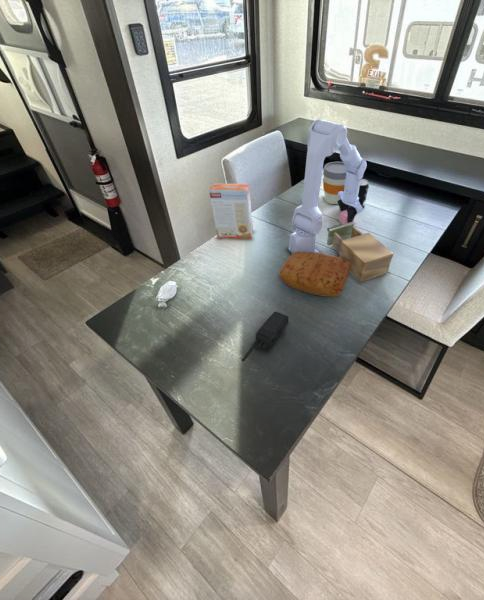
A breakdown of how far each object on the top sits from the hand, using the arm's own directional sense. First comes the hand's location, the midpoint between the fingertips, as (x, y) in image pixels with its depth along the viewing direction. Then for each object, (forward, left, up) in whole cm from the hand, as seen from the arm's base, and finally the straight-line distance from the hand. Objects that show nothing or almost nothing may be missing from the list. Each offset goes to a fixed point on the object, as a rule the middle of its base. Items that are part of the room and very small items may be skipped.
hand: (346, 219), depth 132 cm
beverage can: (+11, +8, -2) cm, 14 cm away
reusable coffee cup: (+6, +19, -2) cm, 20 cm away
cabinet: (-11, -27, -1) cm, 29 cm away
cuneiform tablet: (-31, -27, -2) cm, 41 cm away
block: (0, 0, -1) cm, 1 cm away
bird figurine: (-78, -12, -2) cm, 79 cm away
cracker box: (-46, +12, -2) cm, 47 cm away
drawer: (-11, -15, -1) cm, 19 cm away
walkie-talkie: (-56, -44, -2) cm, 71 cm away
